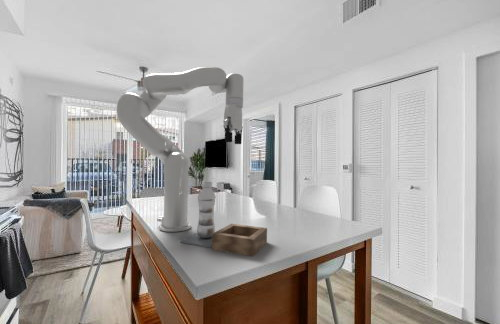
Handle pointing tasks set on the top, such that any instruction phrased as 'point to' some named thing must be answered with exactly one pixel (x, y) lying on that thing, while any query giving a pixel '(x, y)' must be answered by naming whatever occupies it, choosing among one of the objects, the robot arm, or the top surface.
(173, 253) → the top surface
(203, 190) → the plastic bottle
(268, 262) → the top surface
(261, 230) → the square wooden tray
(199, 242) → the mat
